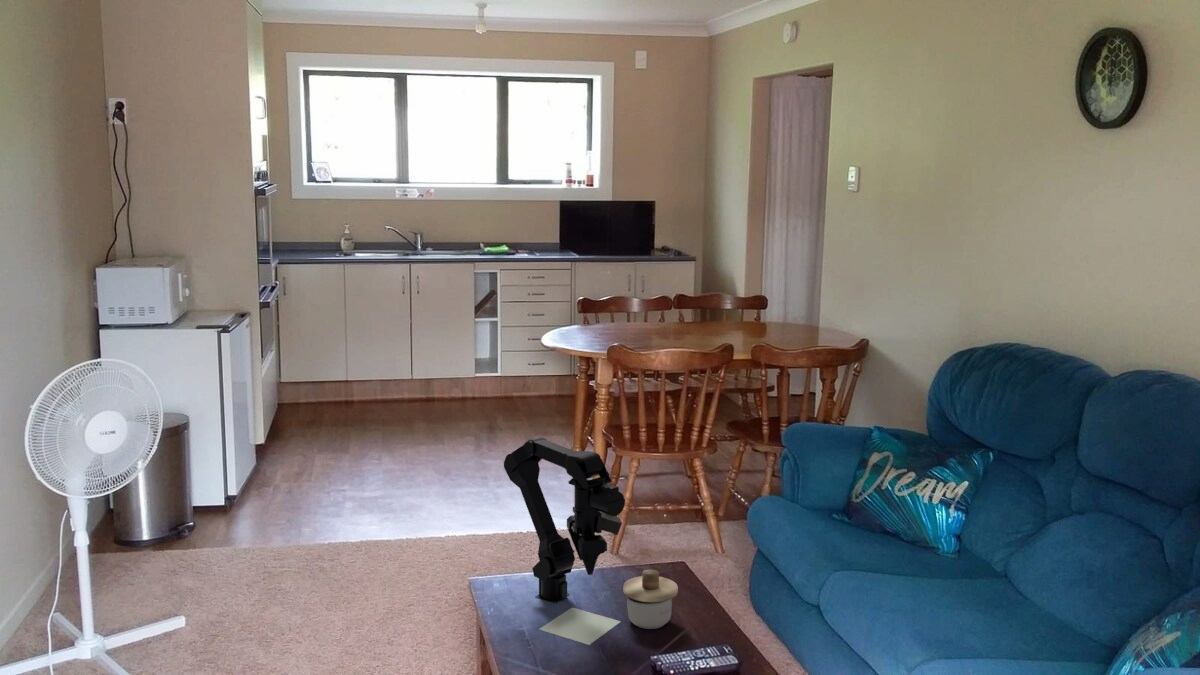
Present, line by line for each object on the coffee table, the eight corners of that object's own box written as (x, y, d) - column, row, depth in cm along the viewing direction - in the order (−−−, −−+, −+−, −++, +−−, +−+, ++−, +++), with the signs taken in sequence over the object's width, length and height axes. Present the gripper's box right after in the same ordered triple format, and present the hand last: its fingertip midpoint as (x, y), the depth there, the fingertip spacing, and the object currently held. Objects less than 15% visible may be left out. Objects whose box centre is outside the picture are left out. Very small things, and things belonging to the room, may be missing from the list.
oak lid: (613, 594, 231) (613, 576, 231) (640, 575, 242) (640, 558, 242) (661, 607, 225) (662, 588, 224) (687, 587, 236) (687, 569, 235)
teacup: (668, 637, 227) (668, 604, 226) (622, 632, 229) (622, 600, 228) (675, 611, 241) (676, 580, 239) (632, 607, 243) (632, 576, 242)
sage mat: (538, 631, 229) (538, 629, 229) (572, 609, 241) (572, 607, 241) (589, 647, 222) (589, 644, 222) (620, 623, 234) (620, 621, 233)
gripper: (628, 516, 227) (627, 579, 230) (610, 491, 245) (609, 550, 248) (581, 519, 225) (581, 583, 227) (566, 493, 243) (566, 553, 245)
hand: (586, 567), depth 237 cm, fingers open, 9 cm apart
